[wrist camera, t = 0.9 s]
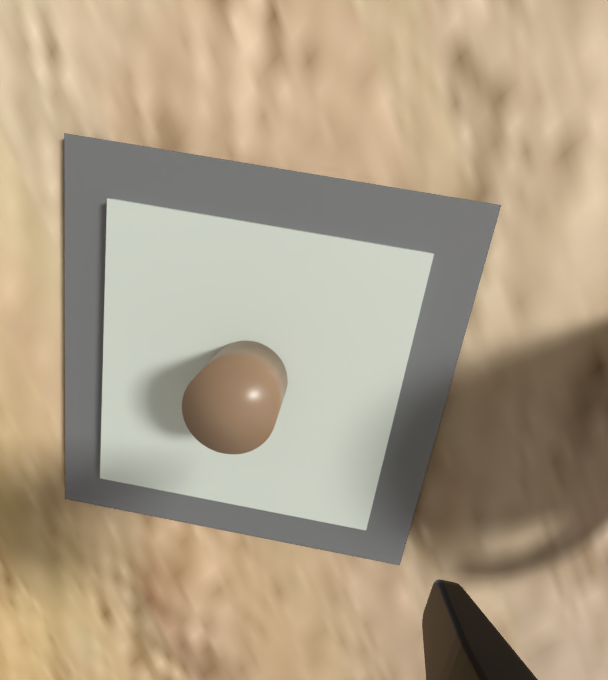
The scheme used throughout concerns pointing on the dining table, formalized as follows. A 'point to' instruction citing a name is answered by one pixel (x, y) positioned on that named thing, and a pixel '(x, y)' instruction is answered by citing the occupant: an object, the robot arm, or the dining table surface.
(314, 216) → the mat
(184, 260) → the panel
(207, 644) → the dining table surface
